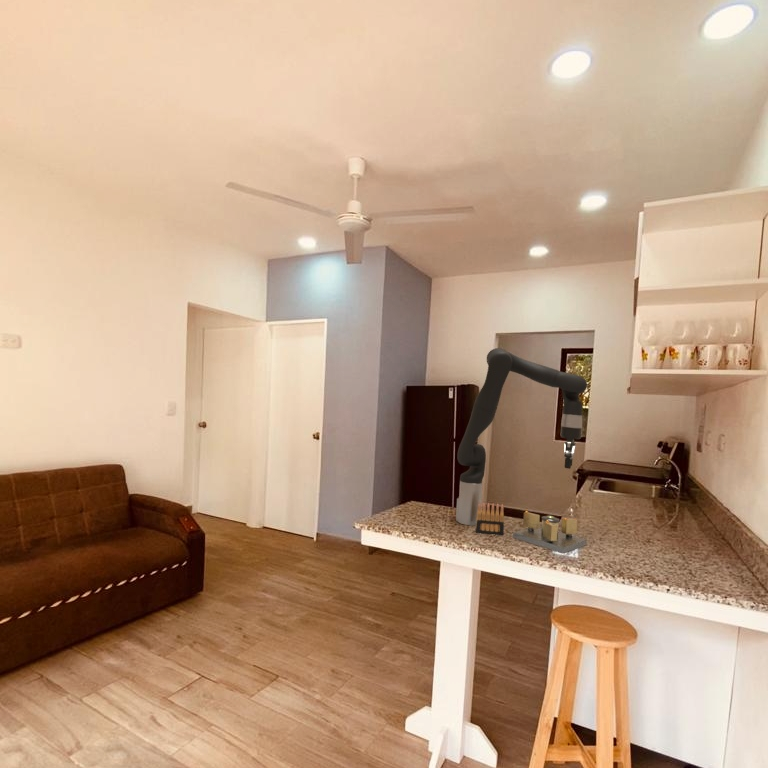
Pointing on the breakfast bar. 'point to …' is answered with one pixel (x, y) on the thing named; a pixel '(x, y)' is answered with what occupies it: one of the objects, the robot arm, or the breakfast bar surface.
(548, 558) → the breakfast bar surface
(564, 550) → the plate
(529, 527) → the block with orange knob
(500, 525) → the ammunition clip
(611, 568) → the breakfast bar surface
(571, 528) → the cream rectangular block
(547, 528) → the knob front
